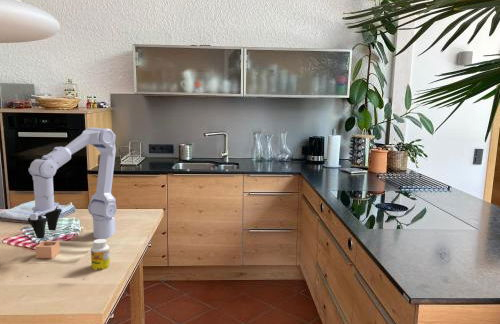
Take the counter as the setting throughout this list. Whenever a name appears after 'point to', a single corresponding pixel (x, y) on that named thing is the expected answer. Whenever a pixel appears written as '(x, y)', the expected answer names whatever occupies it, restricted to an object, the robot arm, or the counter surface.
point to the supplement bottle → (100, 255)
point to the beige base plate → (67, 253)
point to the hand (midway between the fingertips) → (46, 234)
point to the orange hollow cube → (47, 249)
